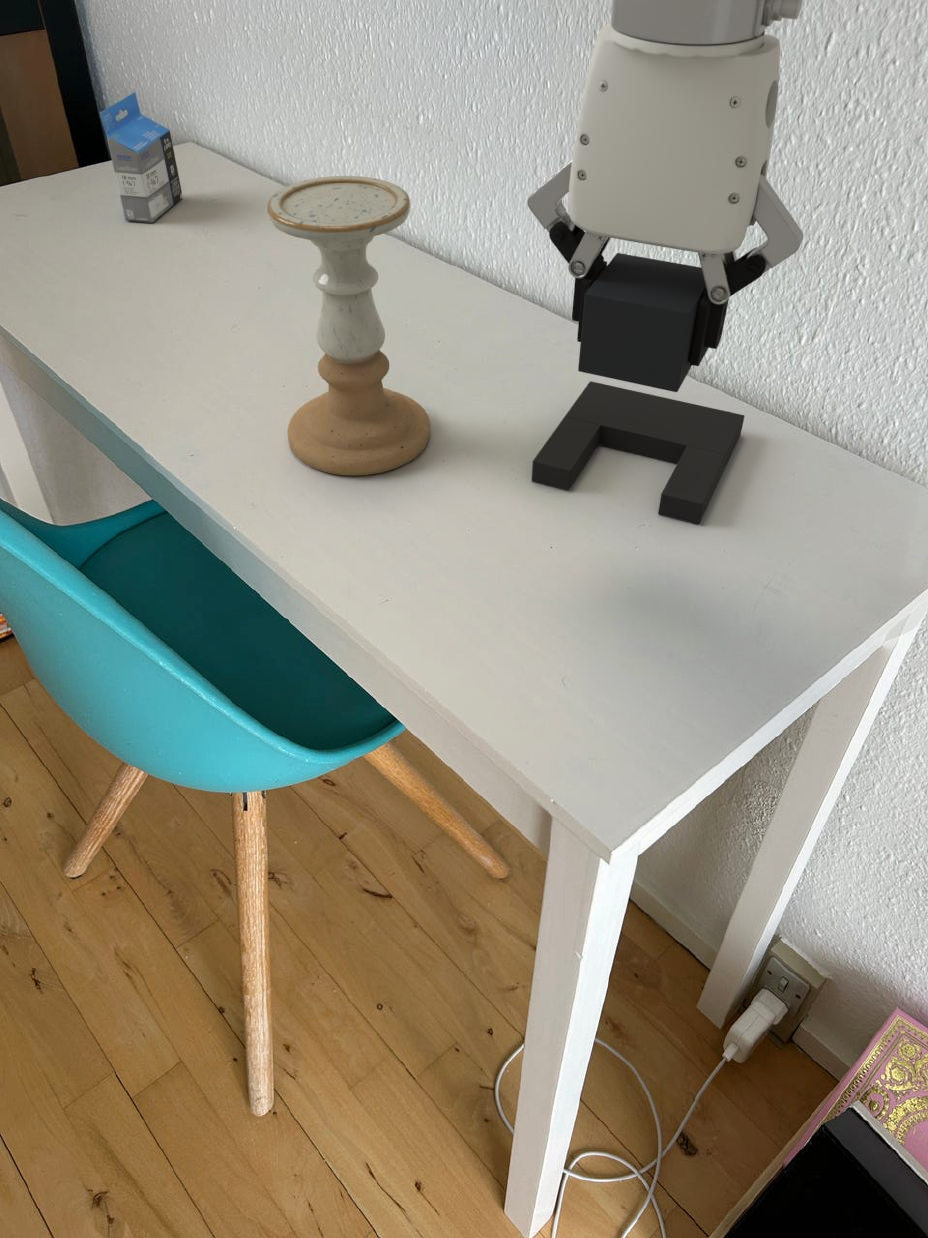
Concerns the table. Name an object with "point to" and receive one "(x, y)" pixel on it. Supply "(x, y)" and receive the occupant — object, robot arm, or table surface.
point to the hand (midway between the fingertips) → (643, 341)
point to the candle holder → (350, 329)
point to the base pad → (644, 443)
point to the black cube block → (641, 321)
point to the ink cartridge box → (141, 162)
